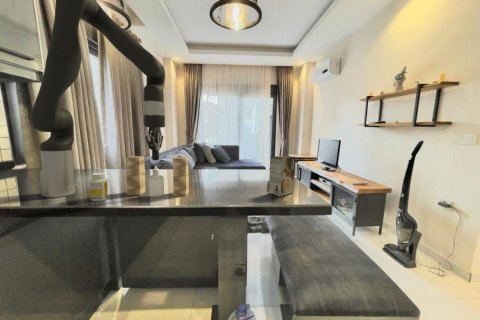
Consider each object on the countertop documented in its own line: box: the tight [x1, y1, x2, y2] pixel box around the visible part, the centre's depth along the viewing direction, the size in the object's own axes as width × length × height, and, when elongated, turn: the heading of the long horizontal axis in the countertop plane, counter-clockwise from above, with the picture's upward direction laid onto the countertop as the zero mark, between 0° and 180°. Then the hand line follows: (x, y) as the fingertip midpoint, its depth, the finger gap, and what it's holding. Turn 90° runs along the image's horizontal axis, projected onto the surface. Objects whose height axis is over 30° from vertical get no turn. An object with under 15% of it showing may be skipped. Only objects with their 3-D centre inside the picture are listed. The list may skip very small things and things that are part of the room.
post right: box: [172, 156, 190, 197], centre depth 89 cm, size 5×5×15 cm
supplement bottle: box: [89, 172, 109, 202], centre depth 81 cm, size 5×5×10 cm
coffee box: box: [268, 155, 296, 197], centre depth 93 cm, size 9×6×16 cm
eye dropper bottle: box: [147, 165, 165, 198], centre depth 86 cm, size 4×6×12 cm
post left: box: [125, 155, 146, 196], centre depth 88 cm, size 5×5×15 cm
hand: (155, 160), depth 85 cm, fingers closed
